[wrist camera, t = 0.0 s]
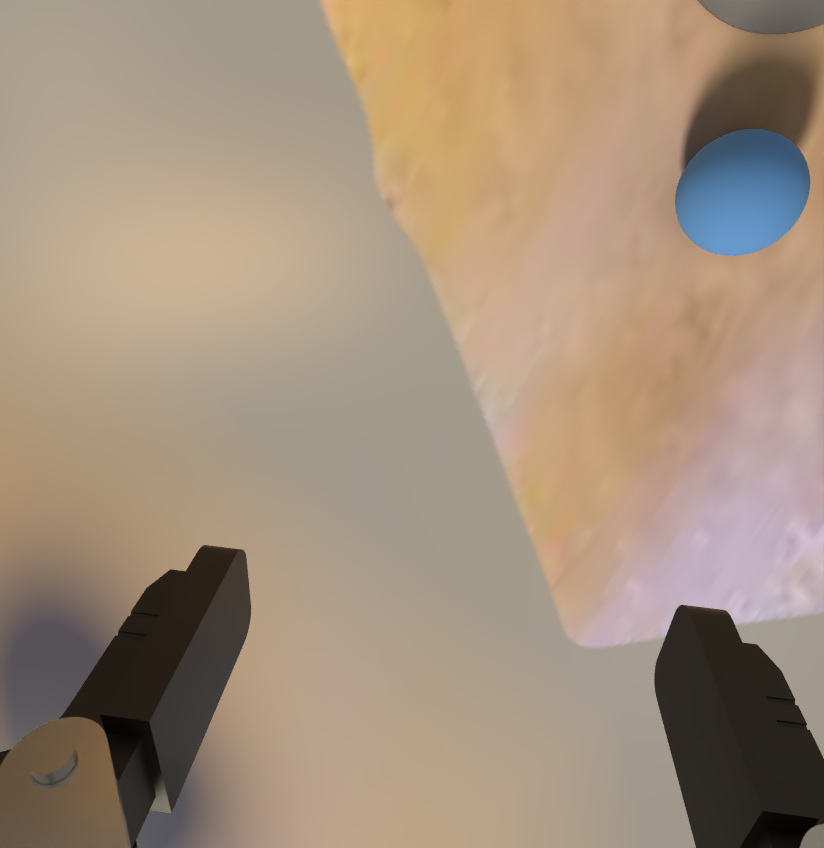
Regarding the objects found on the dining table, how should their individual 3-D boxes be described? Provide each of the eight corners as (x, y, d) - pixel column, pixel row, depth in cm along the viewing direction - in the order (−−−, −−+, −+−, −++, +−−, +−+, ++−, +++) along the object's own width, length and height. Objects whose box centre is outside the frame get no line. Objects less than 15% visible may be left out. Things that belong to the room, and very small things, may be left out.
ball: (680, 119, 33) (715, 129, 28) (797, 128, 32) (855, 140, 27) (651, 235, 36) (678, 263, 31) (758, 244, 35) (804, 275, 30)
